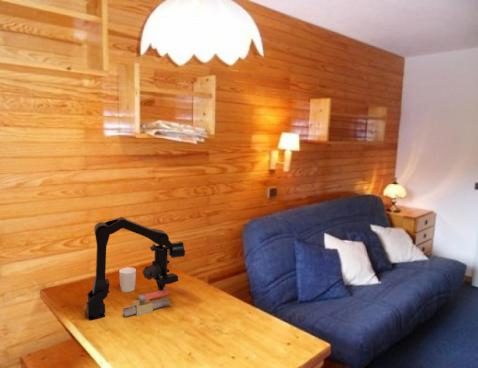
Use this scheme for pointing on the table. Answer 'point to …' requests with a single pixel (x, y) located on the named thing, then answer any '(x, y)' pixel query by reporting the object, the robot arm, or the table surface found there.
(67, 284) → the table surface
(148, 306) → the valve
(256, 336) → the table surface
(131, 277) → the white cup
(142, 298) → the lever
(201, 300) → the table surface
